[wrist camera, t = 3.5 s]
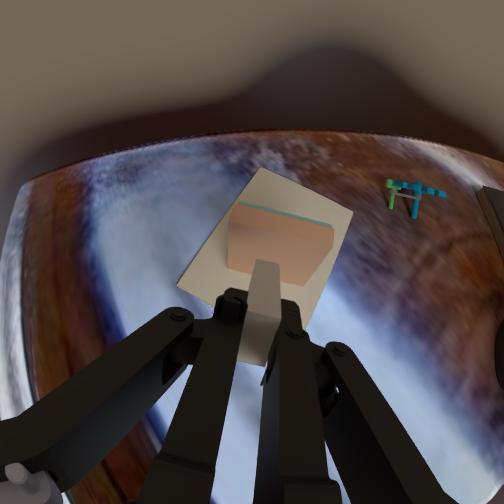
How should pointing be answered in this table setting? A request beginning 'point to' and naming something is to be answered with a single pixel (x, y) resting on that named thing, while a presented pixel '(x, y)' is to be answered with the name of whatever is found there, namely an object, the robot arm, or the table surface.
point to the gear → (416, 195)
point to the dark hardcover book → (494, 212)
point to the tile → (277, 241)
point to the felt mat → (278, 198)
